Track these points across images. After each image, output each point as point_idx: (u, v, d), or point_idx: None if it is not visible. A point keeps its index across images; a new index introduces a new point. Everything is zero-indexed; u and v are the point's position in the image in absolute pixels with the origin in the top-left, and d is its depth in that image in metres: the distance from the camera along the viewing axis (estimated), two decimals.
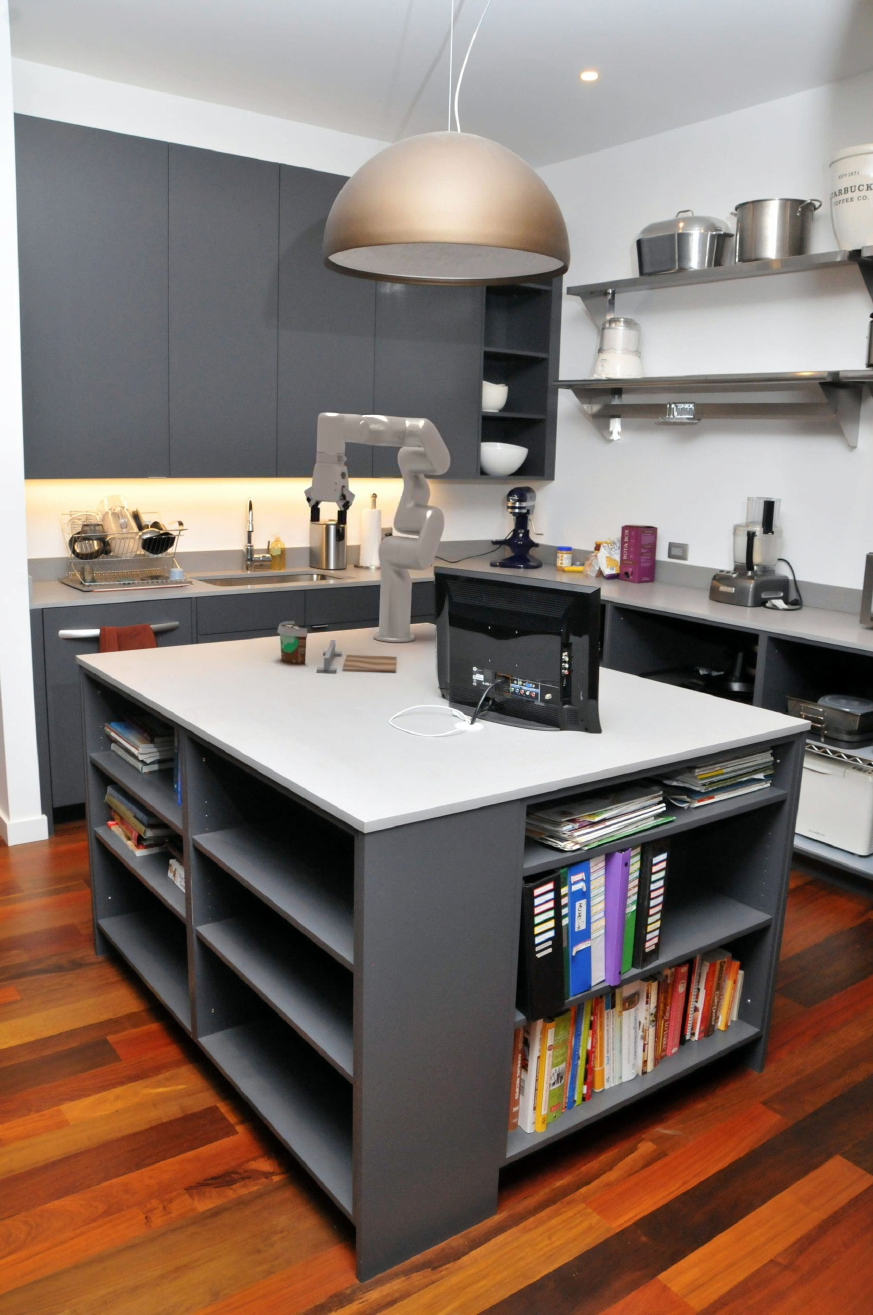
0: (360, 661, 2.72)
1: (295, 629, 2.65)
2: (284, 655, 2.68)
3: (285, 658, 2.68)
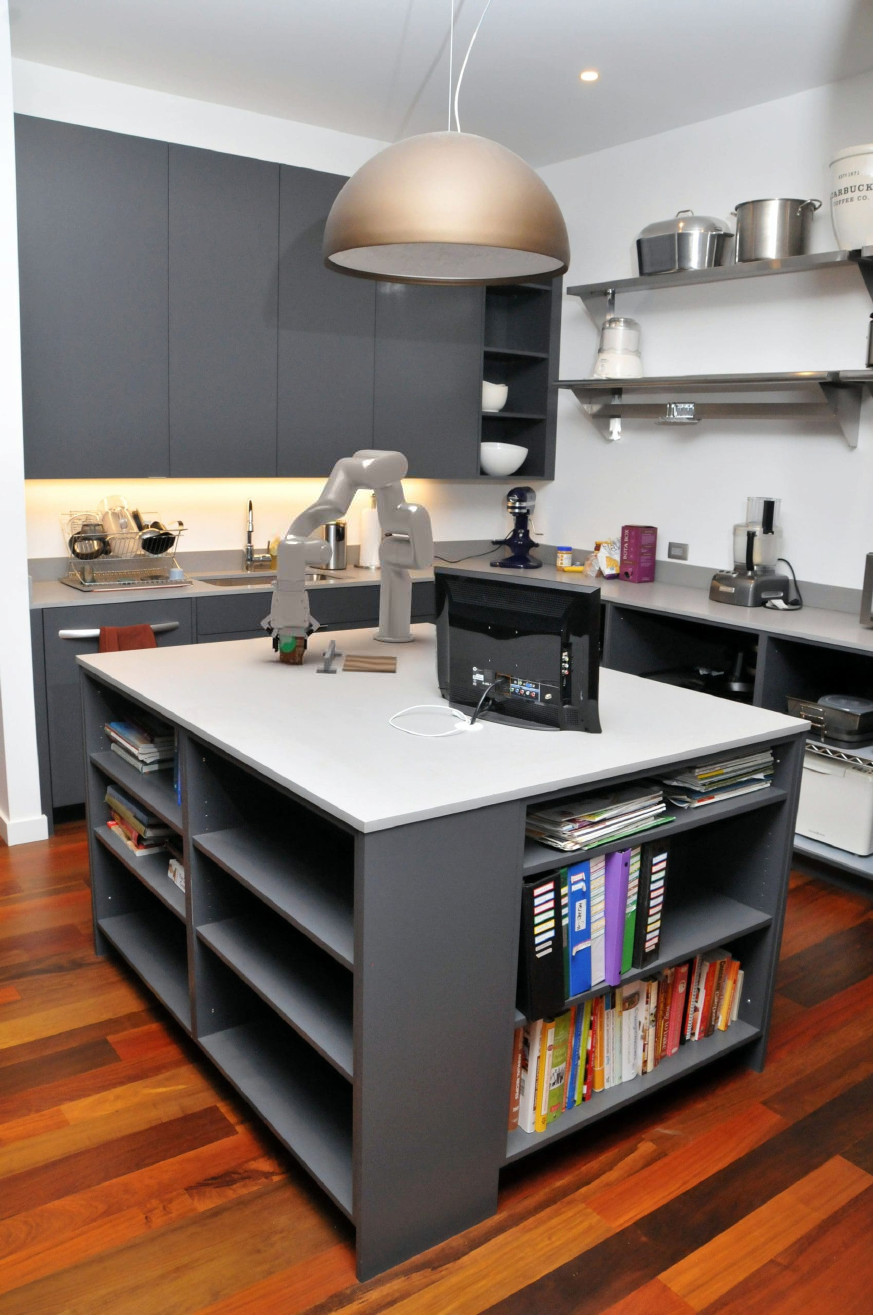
0: (360, 661, 2.72)
1: (293, 629, 2.65)
2: (282, 655, 2.68)
3: (283, 658, 2.68)
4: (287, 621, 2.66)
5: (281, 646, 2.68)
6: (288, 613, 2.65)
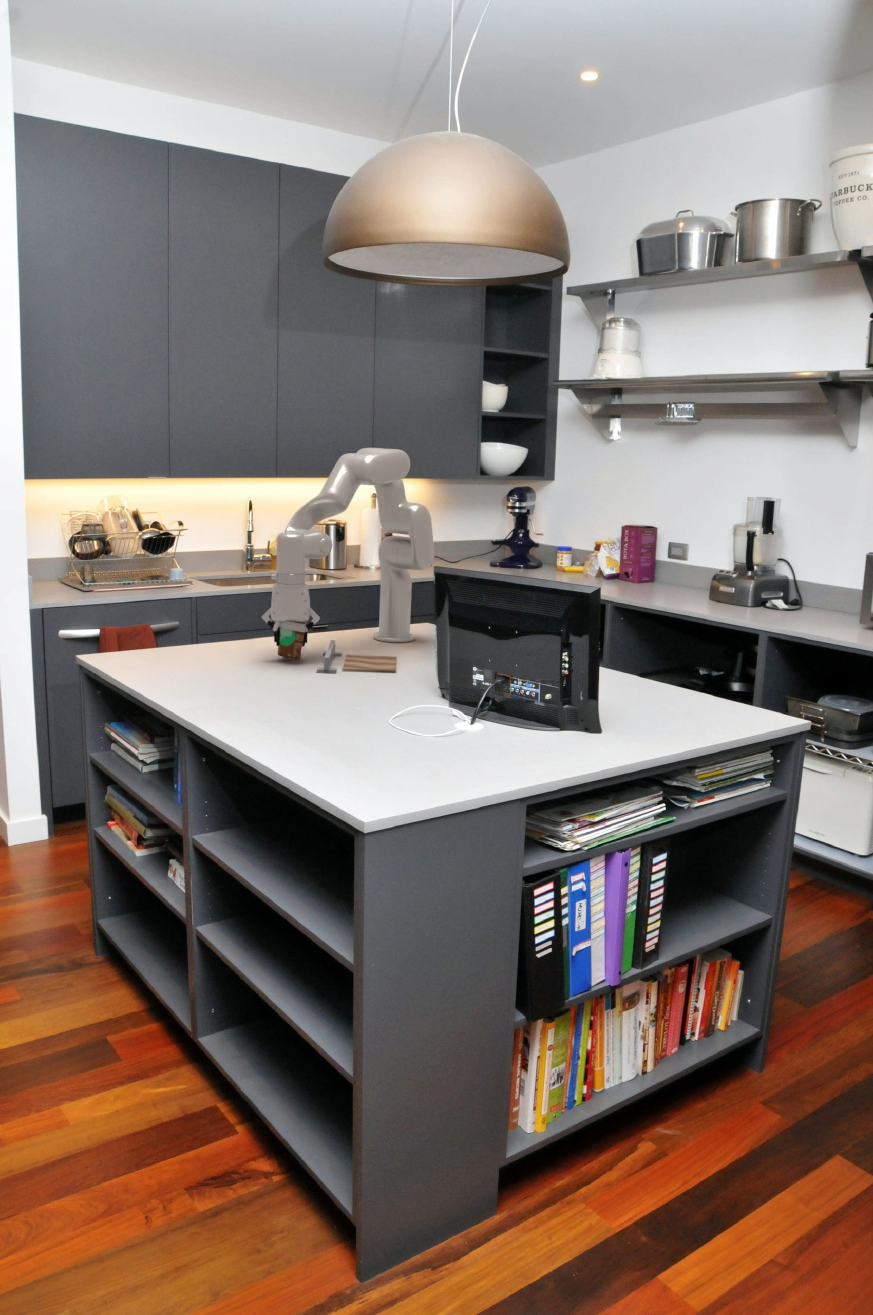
0: (360, 661, 2.72)
1: (294, 623, 2.65)
2: (280, 648, 2.68)
3: (281, 652, 2.68)
4: (287, 614, 2.66)
5: (280, 639, 2.68)
6: (288, 606, 2.65)
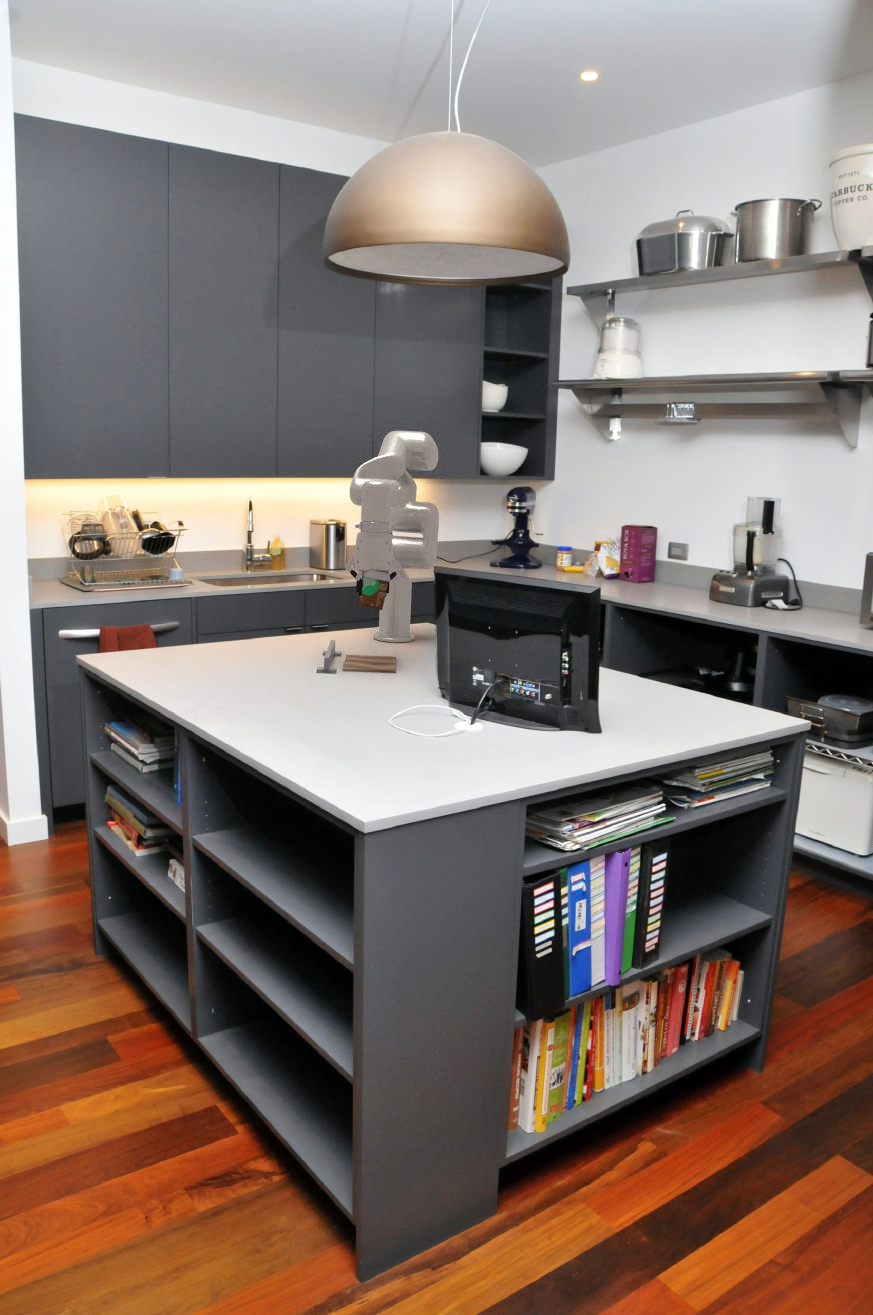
0: (360, 661, 2.72)
1: (378, 572, 2.62)
2: (363, 598, 2.66)
3: (363, 601, 2.65)
4: (371, 563, 2.63)
5: (363, 589, 2.65)
6: (373, 555, 2.63)
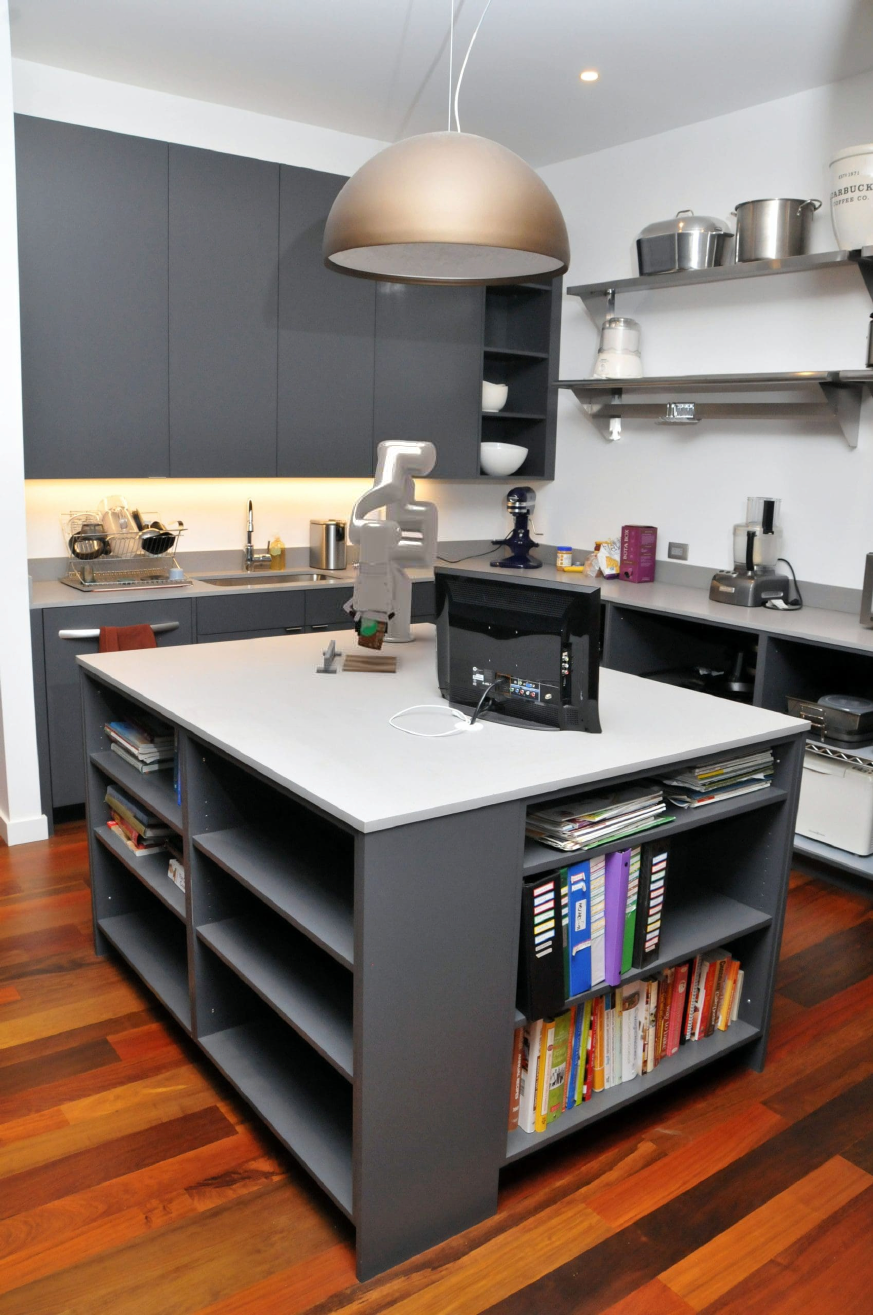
0: (360, 661, 2.72)
1: (376, 613, 2.64)
2: (361, 638, 2.68)
3: (362, 642, 2.67)
4: (369, 604, 2.65)
5: (362, 629, 2.67)
6: (371, 596, 2.65)
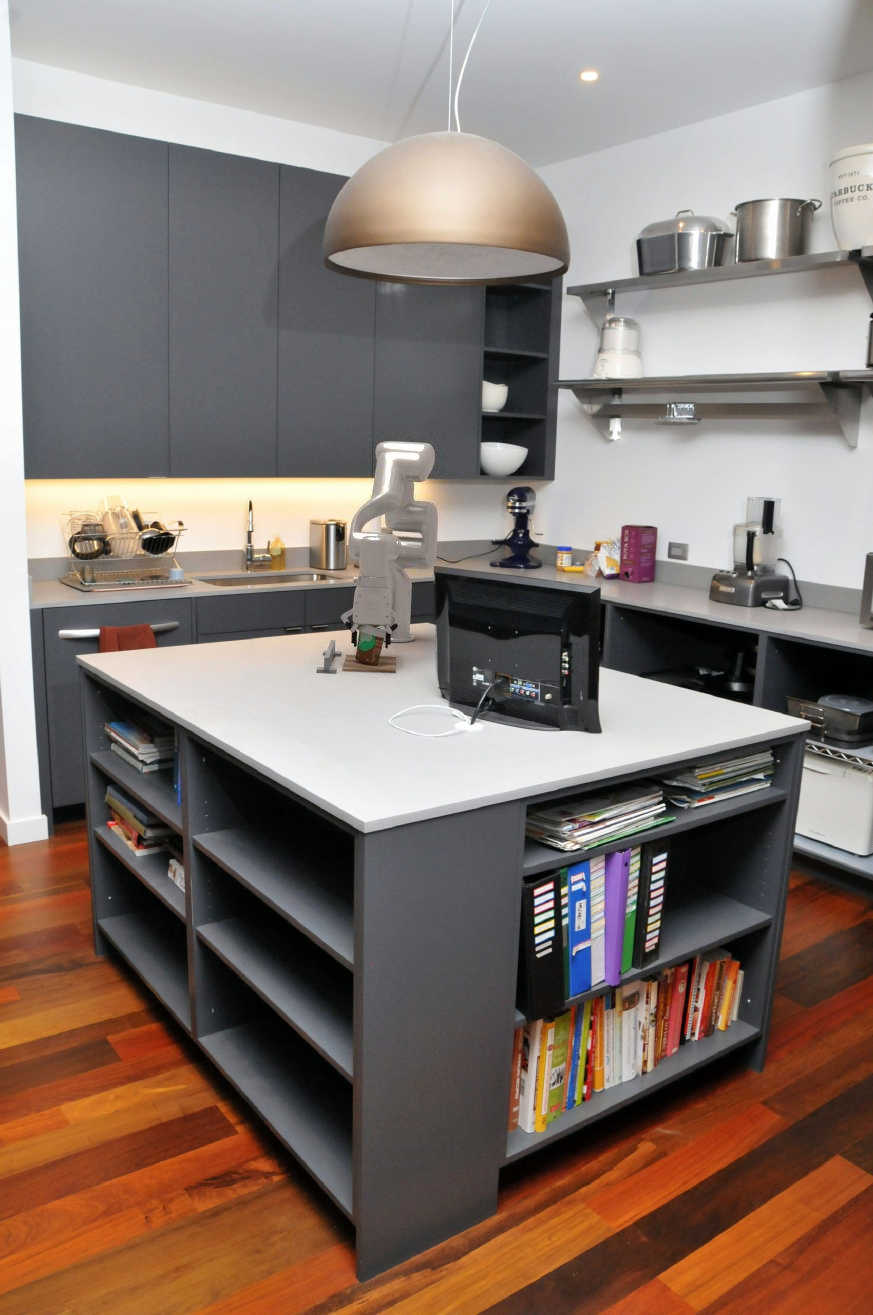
0: None
1: (374, 629, 2.65)
2: (359, 653, 2.69)
3: (359, 656, 2.69)
4: (369, 617, 2.66)
5: (359, 644, 2.69)
6: (371, 609, 2.66)
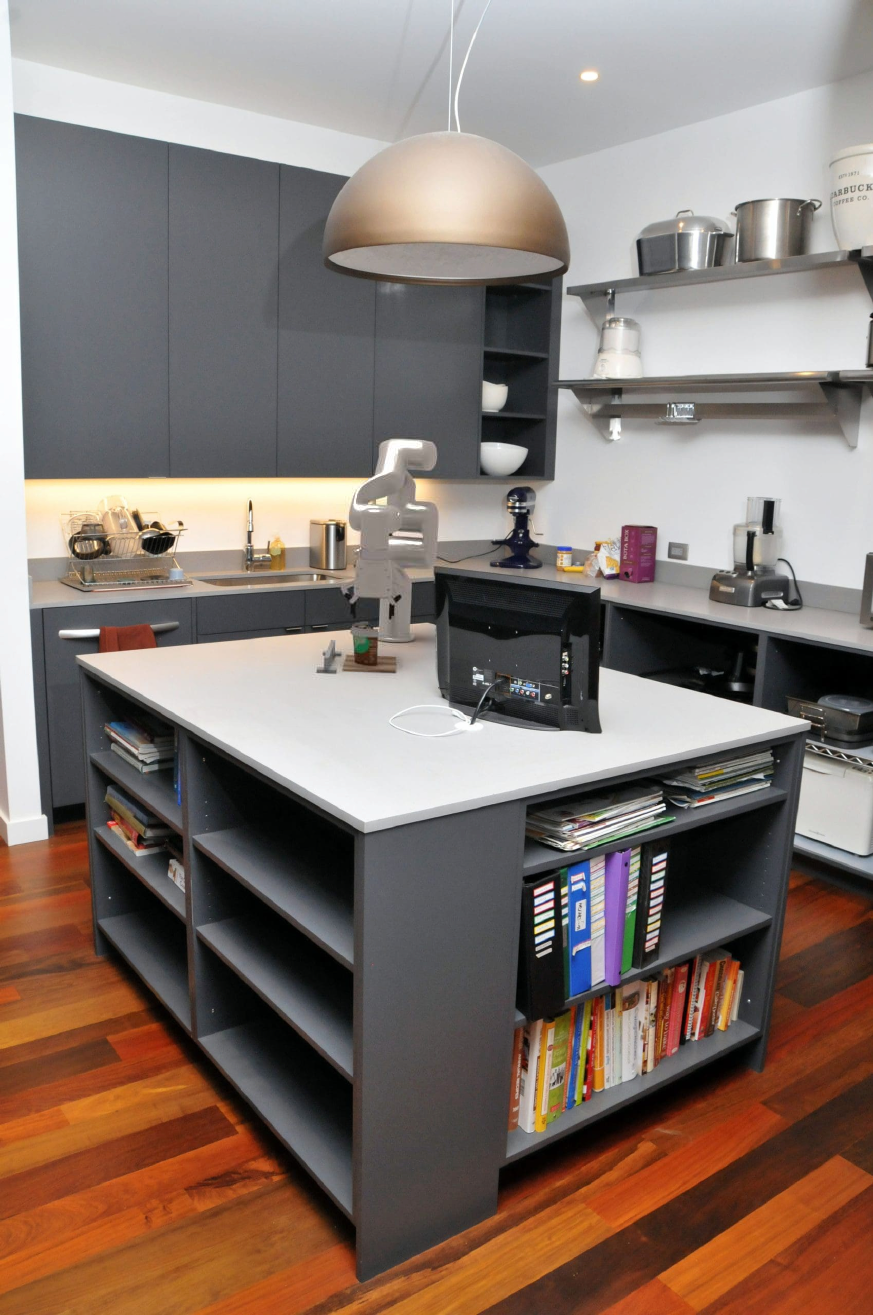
0: None
1: (366, 630, 2.65)
2: (357, 656, 2.69)
3: (358, 659, 2.69)
4: (370, 590, 2.65)
5: (355, 647, 2.68)
6: (372, 582, 2.65)
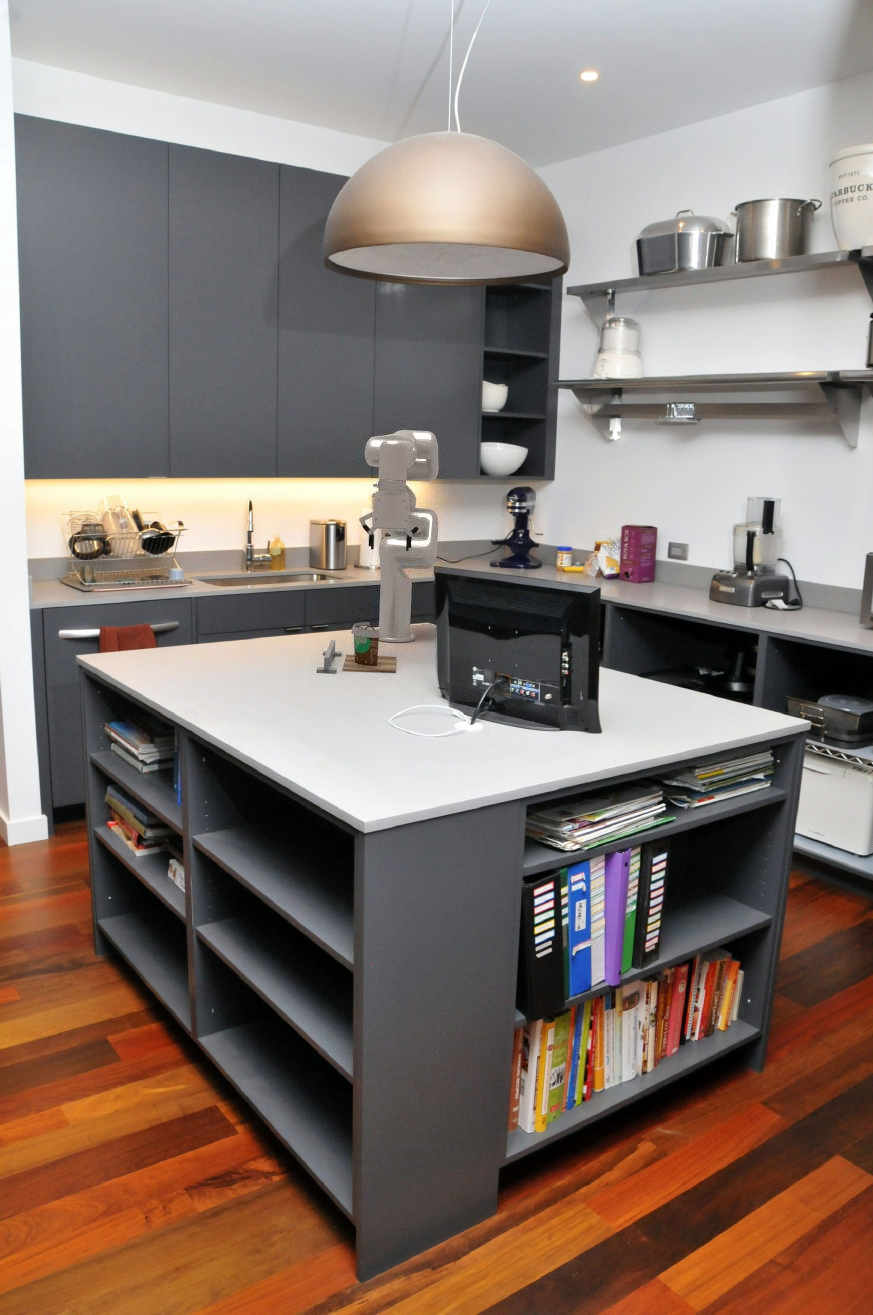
0: None
1: (368, 630, 2.65)
2: (357, 656, 2.69)
3: (358, 659, 2.69)
4: (388, 520, 2.71)
5: (356, 647, 2.69)
6: (390, 513, 2.71)
